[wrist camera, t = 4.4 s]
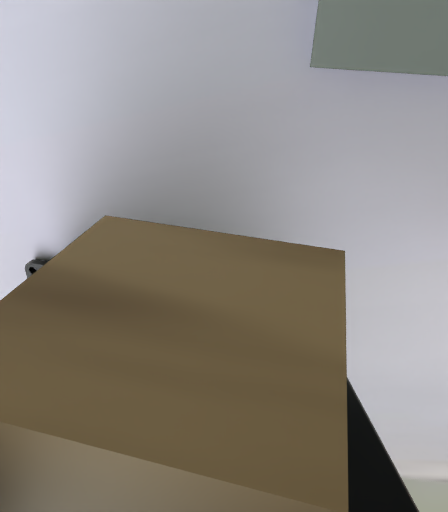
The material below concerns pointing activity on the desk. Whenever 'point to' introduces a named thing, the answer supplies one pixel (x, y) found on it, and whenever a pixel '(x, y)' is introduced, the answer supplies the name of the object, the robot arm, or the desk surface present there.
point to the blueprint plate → (382, 36)
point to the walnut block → (175, 375)
